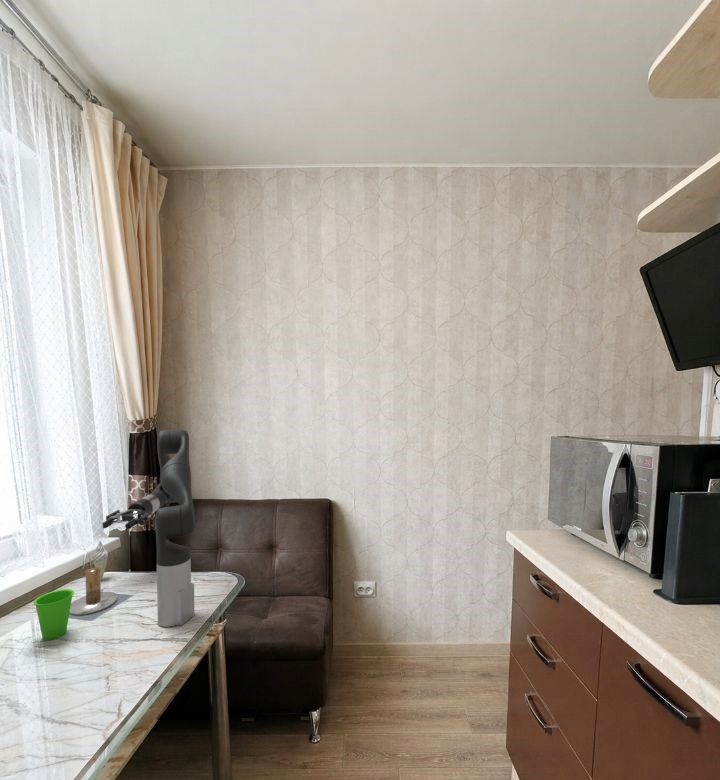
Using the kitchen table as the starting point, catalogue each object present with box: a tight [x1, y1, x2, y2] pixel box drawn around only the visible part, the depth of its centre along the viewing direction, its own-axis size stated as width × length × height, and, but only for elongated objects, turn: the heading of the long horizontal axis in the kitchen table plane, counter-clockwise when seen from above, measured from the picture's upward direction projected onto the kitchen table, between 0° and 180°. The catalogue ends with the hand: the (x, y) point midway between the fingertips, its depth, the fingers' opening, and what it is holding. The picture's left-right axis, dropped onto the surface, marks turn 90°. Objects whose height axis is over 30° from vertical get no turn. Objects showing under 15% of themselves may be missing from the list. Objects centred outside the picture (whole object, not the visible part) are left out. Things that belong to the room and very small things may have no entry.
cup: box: [33, 588, 75, 641], centre depth 112 cm, size 9×9×11 cm
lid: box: [69, 566, 118, 616], centre depth 129 cm, size 13×13×11 cm
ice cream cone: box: [91, 540, 109, 581], centre depth 147 cm, size 5×5×15 cm
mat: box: [68, 593, 134, 622], centre depth 128 cm, size 16×16×1 cm
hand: (115, 526), depth 139 cm, fingers open, 8 cm apart
